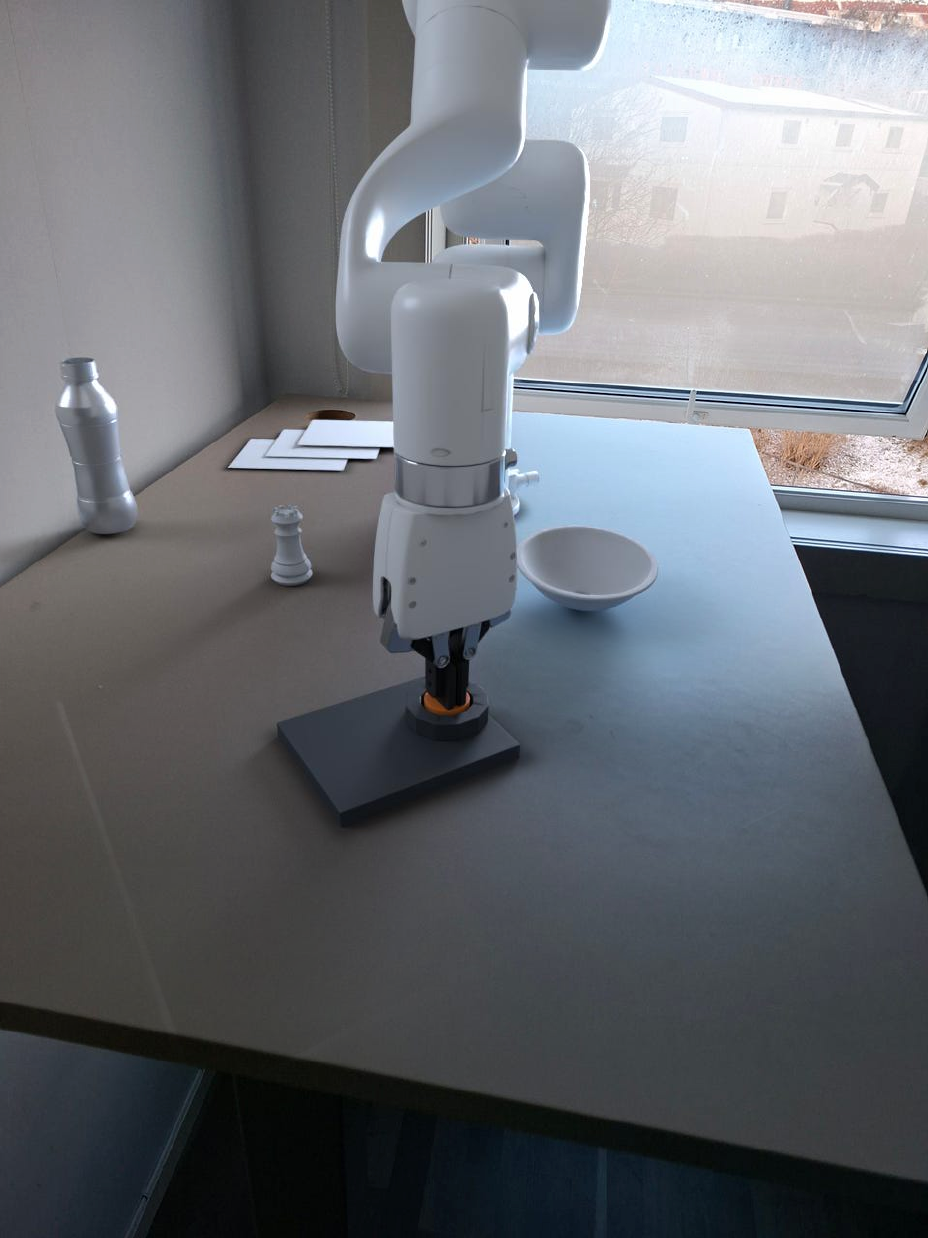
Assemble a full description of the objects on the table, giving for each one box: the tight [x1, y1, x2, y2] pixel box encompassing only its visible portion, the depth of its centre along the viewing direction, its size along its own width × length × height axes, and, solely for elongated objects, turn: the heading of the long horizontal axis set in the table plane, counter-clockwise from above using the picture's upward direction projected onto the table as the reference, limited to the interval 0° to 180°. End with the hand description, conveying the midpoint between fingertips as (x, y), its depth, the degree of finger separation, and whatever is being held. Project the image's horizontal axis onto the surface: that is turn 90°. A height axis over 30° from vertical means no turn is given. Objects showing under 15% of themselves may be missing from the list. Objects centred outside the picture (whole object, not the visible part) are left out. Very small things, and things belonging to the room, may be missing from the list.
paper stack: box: [227, 419, 394, 471], centre depth 131 cm, size 23×25×1 cm
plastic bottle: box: [54, 356, 138, 535], centre depth 97 cm, size 6×7×20 cm
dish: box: [517, 524, 659, 612], centre depth 86 cm, size 18×14×5 cm
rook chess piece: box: [270, 504, 313, 587], centre depth 89 cm, size 4×4×8 cm
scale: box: [276, 675, 521, 828], centre depth 65 cm, size 15×12×3 cm
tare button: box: [424, 692, 470, 715], centre depth 67 cm, size 4×4×2 cm
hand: (446, 698), depth 66 cm, fingers closed
